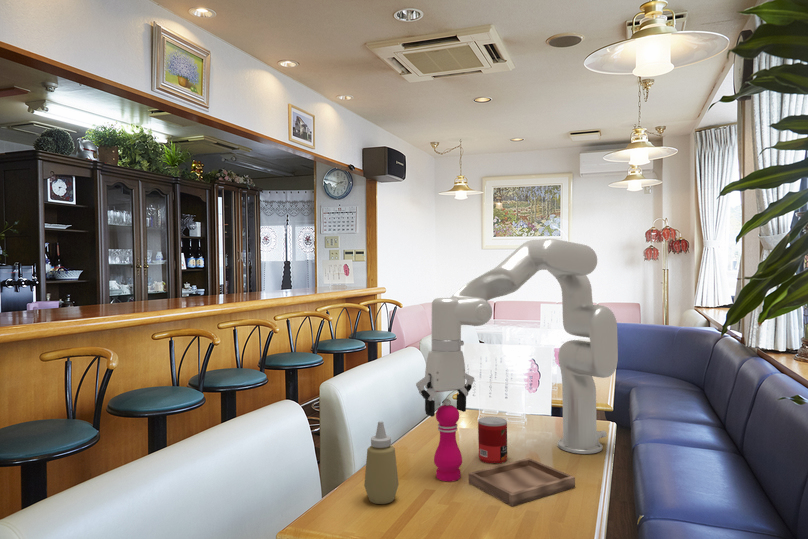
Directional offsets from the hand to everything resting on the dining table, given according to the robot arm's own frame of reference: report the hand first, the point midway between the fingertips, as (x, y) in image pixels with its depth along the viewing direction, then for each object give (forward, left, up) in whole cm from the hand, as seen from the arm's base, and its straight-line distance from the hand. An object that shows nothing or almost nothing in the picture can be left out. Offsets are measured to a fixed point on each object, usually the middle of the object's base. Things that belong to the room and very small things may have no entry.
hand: (445, 412), depth 141 cm
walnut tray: (-13, +14, -17) cm, 25 cm away
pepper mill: (-1, 0, -17) cm, 17 cm away
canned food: (-19, -4, -17) cm, 25 cm away
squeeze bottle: (+20, +3, -17) cm, 27 cm away
